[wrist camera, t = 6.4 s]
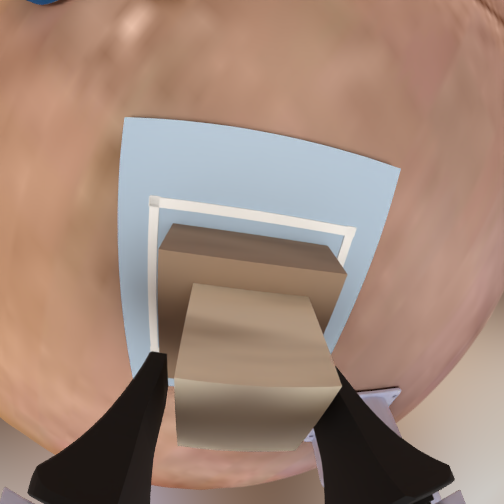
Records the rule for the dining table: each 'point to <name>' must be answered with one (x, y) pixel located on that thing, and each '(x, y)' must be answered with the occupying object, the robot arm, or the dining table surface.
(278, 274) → the walnut base block
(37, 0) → the beverage can
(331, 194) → the blueprint board
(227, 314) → the maple cube
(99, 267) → the dining table surface
